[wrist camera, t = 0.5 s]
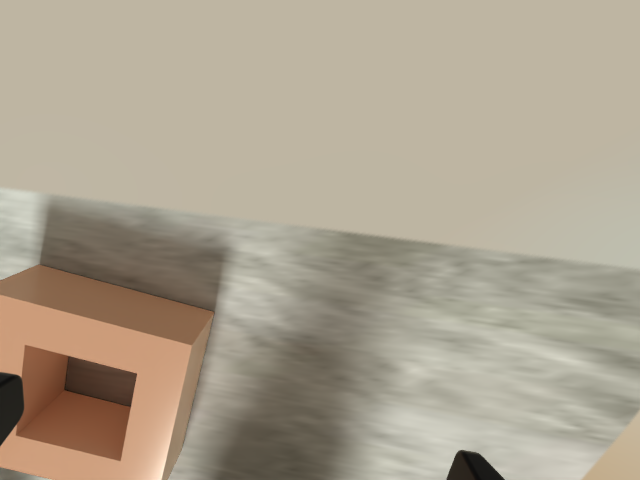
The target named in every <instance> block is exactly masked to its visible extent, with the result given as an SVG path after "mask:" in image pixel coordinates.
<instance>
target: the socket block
mask: <svg viewBox="0 0 640 480" xmlns="http://www.w3.org/2000/svg"><path fill="white" fill-rule="evenodd" d="M213 316H214V312H213V311H209V310H205V309H201V308H198V307H194V306H190V305H187V304H183V303H179V302H176V301H172V300H168V299H165V298H161V297H157V296H153V295H150V294H146V293H142V292H139V291H135V290H131V289H128V288H124V287H120V286H116V285H113V284H109V283H105V282H102V281H98V280H94V279H91V278H87V277H83V276H80V275H76V274H72V273H68V272H65V271H61V270H57V269H54V268H50V267H46V266H43V265H36V266H34V267H32V268H29V269H27V270H24V271H22V272H20V273H17V274H15V275H12V276H10V277H8V278H5V279H3V280H0V372H5V373H10V374H16V375H19V376H20V377H21V378H22V381H23V392H24V412H23V415H22V417H21V419H20V421H19V422H18V423H17V425H16V426H15V428H14V429H13V430H12V432H11V433H10V434H9V436H8V437H7V438H6V440H5V441H4V442H3V444H2V445H1V446H0V467H2V468H6V469H10V470H15V471H19V472H23V473H27V474H31V475H35V476H40V477H44V478H48V479H52V480H168V478H169V476H170V474H171V472H172V469H173V467H174V465H175V463H176V461H177V459H178V457H179V455H180V452H181V450H182V446H183V442H184V438H185V433H186V429H187V425H188V421H189V417H190V413H191V408H192V404H193V400H194V396H195V392H196V387H197V383H198V379H199V375H200V371H201V366H202V362H203V358H204V354H205V350H206V345H207V341H208V337H209V333H210V329H211V324H212V320H213ZM69 356H71V357H75V358H79V359H83V360H87V361H91V362H94V363H98V364H102V365H106V366H110V367H114V368H118V369H122V370H125V371H129V372H133V373H137V378H136V383H135V388H134V393H133V399H132V404H131V407H129V406H125V405H121V404H117V403H113V402H109V401H105V400H101V399H97V398H93V397H89V396H85V395H81V394H77V393H73V392H69V391H65V390H64V388H65V380H66V373H67V365H68V358H69Z"/></svg>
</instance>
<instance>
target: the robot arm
mask: <svg viewBox="0 0 640 480" xmlns="http://www.w3.org/2000/svg"><path fill="white" fill-rule="evenodd" d="M23 412H24V392H23V381H22V378H21V377H20V376H19V375H16V374H10V373H5V372H0V446H1V445H2V444H3V442H4V441H5V440H6V438H7V437H8V436H9V434H10V433H11V432H12V430H13V429H14V428H15V426H16V425H17V423H18V422H19V421H20V419H21V417H22V415H23ZM447 480H505V479H504V478H503V477H502V476H501V475H500V474H499V473H498V472H497V471H496V470H495V469H494V468H493V467H492V466H491V465H490V464H489V463H488V462H487V461H486V460H485V458H484V457H483V456H481V455H480V454H479V453H476V452H471V451H465V450H460V451H458V452H457V454H456V456H455V458H454V461H453V463H452V466H451V469H450V471H449V474H448V476H447Z"/></svg>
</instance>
